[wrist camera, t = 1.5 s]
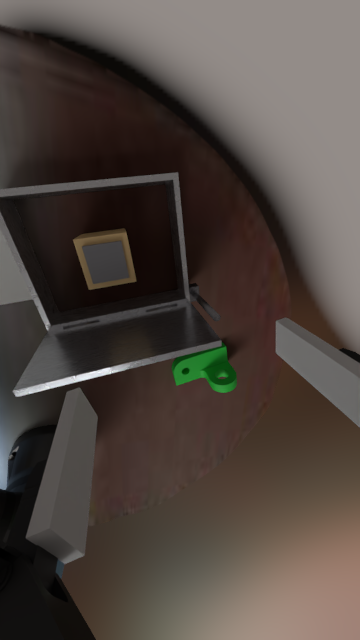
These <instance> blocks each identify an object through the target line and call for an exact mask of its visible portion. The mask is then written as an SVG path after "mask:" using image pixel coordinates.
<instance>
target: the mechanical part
mask: <svg viewBox="0 0 360 640" xmlns="http://www.w3.org/2000/svg"><path fill="white" fill-rule="evenodd" d="M221 345H222V346H219V347H215V348H211V349H207V350H203V351H199V352H195V353H191V354H187V355H183V356H179V357H177V358H176V359H175V360H174V362H173V364H172V371H173V375H174V379H175V382H176V385H180V384H183V383H186V382H189V381H192V380H195V379H198V378H201V377H204V378H206V379H207V380H208V382H209V384H210V386H211V387H212V389H214V390H215V391H217V392H221V393H225V392H230V391H232V390H233V389H234V388H235V387H236V385H237V378H236V372H235V370H234V369H233V368H232V366H231V365H230V364H229V362H228V359H227V349H226V346H225V344H224V343H223V342H221ZM184 368H186V369H184ZM222 376H224V377H227V378H226V379H218V378H219V377H222Z"/></svg>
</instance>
